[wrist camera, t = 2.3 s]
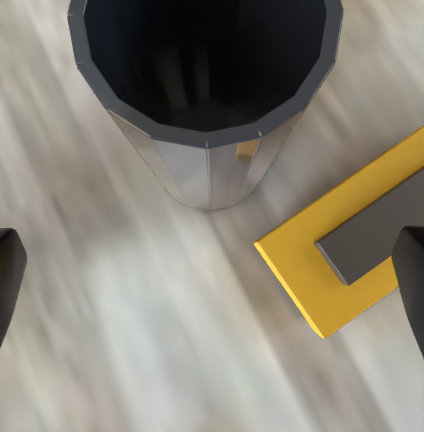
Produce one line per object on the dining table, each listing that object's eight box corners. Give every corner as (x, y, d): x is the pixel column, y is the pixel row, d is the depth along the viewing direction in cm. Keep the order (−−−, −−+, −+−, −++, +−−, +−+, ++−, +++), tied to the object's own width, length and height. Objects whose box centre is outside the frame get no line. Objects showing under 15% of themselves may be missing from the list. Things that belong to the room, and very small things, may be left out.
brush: (309, 327, 20) (329, 343, 17) (250, 243, 21) (258, 241, 17) (483, 203, 21) (539, 193, 17) (423, 124, 21) (465, 98, 18)
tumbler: (195, 232, 21) (167, 201, 8) (131, 140, 21) (17, -20, 9) (288, 168, 21) (397, 46, 9) (224, 79, 22) (239, -157, 9)
